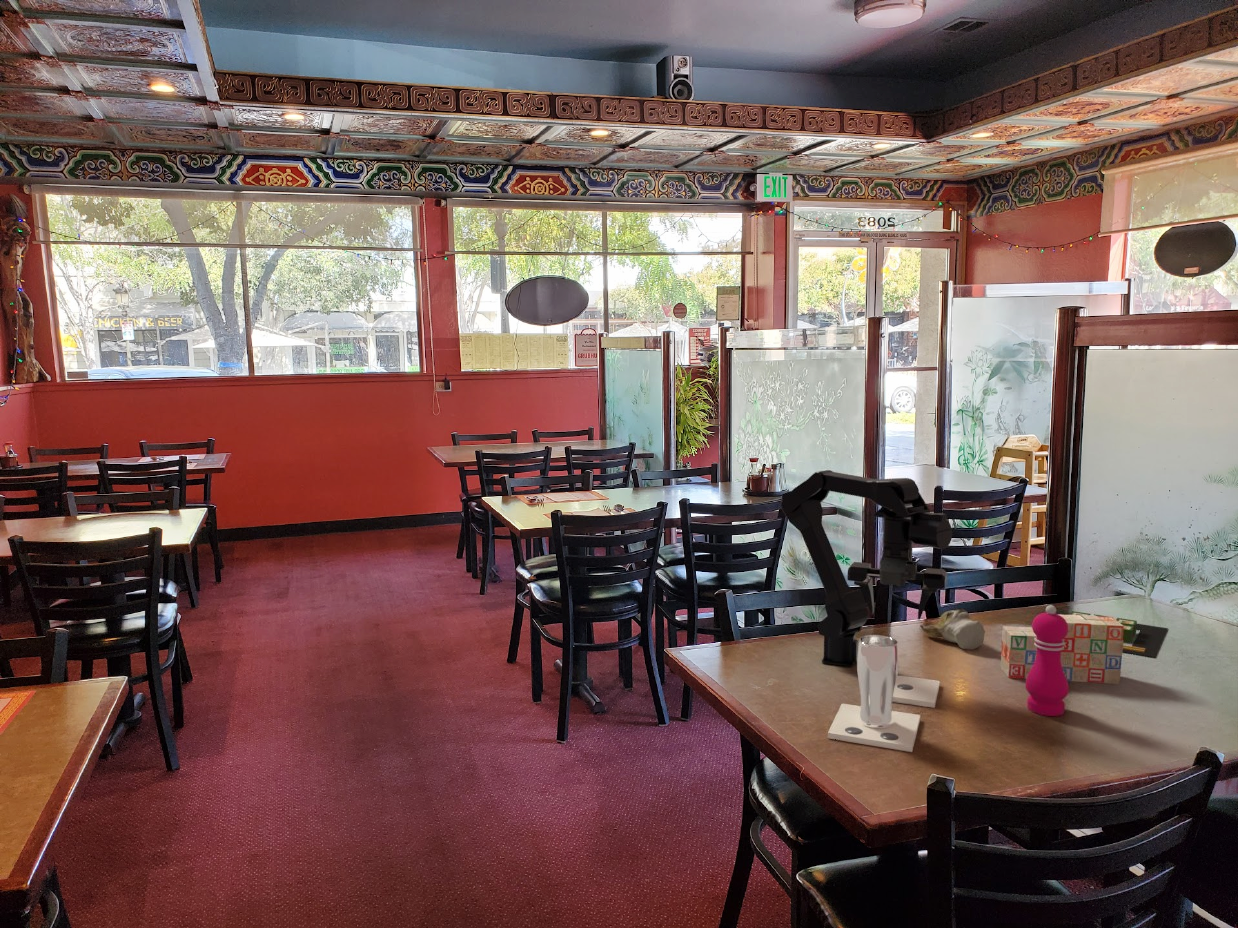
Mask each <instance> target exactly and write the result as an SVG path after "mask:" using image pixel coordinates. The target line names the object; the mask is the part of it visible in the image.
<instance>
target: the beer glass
mask: <svg viewBox="0 0 1238 928" xmlns="http://www.w3.org/2000/svg"><path fill="white" fill-rule="evenodd" d="M898 647H899V646H898V640H897V639H895V638H893V637H891V636H889V635H888V636H887V635H882V634H881V635H880V634H866V635H862V636H860V637H859V638H858V655H857V661H856V670H857V671H856V672H857V680H858V686H859V693H860V706H861V707H860V712H859V716H858V721H859V722H860V723H861V724H862V725H864V726H866V727H870V728H876V729H885V728H889V727H891V726H892V725H893V724H894V720H893V714H892V711H893V707H892V706H893V702H892V698H893V693H894V689H895V684H896V679H897V675H898V672H899V650H898Z"/></svg>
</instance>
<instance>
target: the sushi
mask: <svg viewBox="0 0 1238 928" xmlns="http://www.w3.org/2000/svg"><path fill="white" fill-rule="evenodd" d="M1055 614H1059V615H1080V616H1081V615H1092V614H1091V613H1087V612H1080V611H1073V610H1071V612H1070V613H1069V612H1064V611H1057V610H1056V613H1055ZM1093 615H1095V616H1100V617H1109V615H1108V616H1107V615H1100V614H1096V613H1095V614H1093ZM1115 620H1117V621H1118V622H1119V623H1121V624H1122V625H1123V626H1124V630H1123V653H1122V654H1127V655H1132V654H1133V655H1134V656H1138V657H1146V658H1151V659H1156V657H1157V655H1158V653H1159V650H1160V648H1161V646H1162V643H1163V641H1164V639H1165V637H1164V636H1166V634H1167V632H1168V630H1167V629H1168V627H1162V626H1156V625H1155V626H1154V625H1149V624H1148V625H1147V624H1142V623H1138V620H1133V619H1127V618H1122V617H1120V618H1119V617H1117V618H1115ZM1139 630H1140V631H1139ZM1137 631H1138V634H1137ZM1135 634H1137V636H1136V635H1135ZM1135 636H1136V638H1135ZM1134 638H1135V639H1134ZM1163 638H1164V639H1163ZM1132 639H1133V640H1134V641H1133V640H1132ZM1132 642H1133V643H1132ZM1124 643H1126V644H1130V643H1132V645H1126V644H1124ZM1160 645H1161V646H1160ZM1157 652H1158V653H1157ZM1133 655H1132V656H1133Z"/></svg>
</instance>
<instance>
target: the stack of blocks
mask: <svg viewBox="0 0 1238 928" xmlns="http://www.w3.org/2000/svg"><path fill="white" fill-rule="evenodd" d="M1058 615H1059V614H1058ZM1095 615H1096V614H1095ZM1095 615H1094V614H1091V615H1081V616H1080V615H1060V616H1061V617H1063V618H1064V619H1065V620H1066V622H1067V624H1068V634H1067V635H1066V637H1064V638H1063V641H1064V649H1063V650H1061V665H1062V669H1063V672H1064V674H1065V676H1066V679H1067V682H1079V683H1080V682H1081V683H1096V684H1097V683H1100V684H1102V683H1103V684H1114V685H1115V684H1116V685H1117V684H1118V685H1119V684H1120V683H1121V675H1122V674H1121V673H1122V659H1123V654H1124V653H1123V645H1124V642H1123V630H1124V626H1123V625H1122V624H1121V623H1119V622H1118V621H1117V620H1116V618H1115V617H1114V616H1108V617H1100V616H1095ZM1001 637H1002V640H1001V646H1000V647H1001V650H1000V654H1001V655H1000V657H1001V658H1000V668H1001V670H1002V671H1003V672H1004V674H1005V675H1006V676H1007V678H1009V679H1025V680H1026V679H1027V676H1028V674H1029V672H1030V670H1031V668H1032V666H1033V664H1034V662H1035V659H1036V653H1037V650H1036V646H1035V645H1034V643H1035V640H1034V638H1035V637H1037V636H1036V635H1035V633H1034V632H1033V629H1032V626H1029V627H1028V626H1006V625H1005V626H1002V635H1001Z"/></svg>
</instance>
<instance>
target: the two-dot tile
mask: <svg viewBox="0 0 1238 928" xmlns="http://www.w3.org/2000/svg"><path fill="white" fill-rule="evenodd" d="M860 707H861V705H854V704H848V703H841V705H840V706H839V709H838V710H837V713H836V715H835V717H834V719H833V721H832V723H831V726H830V728H829V730H828V732H827V739H831V740H835V739H836V741H841V742H848V743H854V744H861V745H866V746H872V747H878V748H885V749H892V750H896V751H903V752H909V753H913V750H914V746H915V743H916V738H917V734H918V731H919V727H920V723H921V714H916V713H915V714H914V713H910V712H901V711H896V710H895V711H894V710H892V714H893V720H894V724H893V725H892V726H891V727H889V728H885V729H876V728H870V727H866V726H864V725H862V724H861V723H860V722H859V721H858V716H859V712H860Z"/></svg>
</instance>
